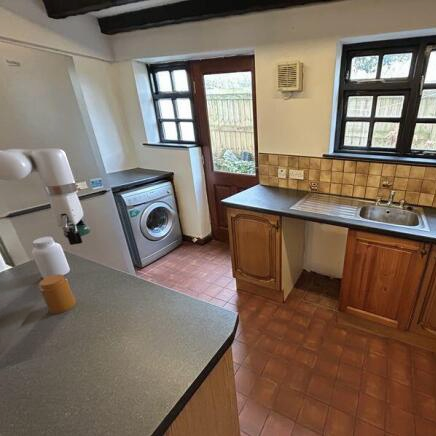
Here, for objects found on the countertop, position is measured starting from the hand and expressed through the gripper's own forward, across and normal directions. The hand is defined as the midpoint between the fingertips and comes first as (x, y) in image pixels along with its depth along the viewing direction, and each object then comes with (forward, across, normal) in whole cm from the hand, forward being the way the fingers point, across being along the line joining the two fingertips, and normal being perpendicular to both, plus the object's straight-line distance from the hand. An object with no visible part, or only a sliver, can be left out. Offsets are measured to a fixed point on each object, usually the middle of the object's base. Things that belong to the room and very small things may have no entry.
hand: (79, 238), depth 84 cm
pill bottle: (+18, -11, -14) cm, 25 cm away
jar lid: (-3, 0, 0) cm, 3 cm away
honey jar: (+18, +12, -6) cm, 22 cm away
